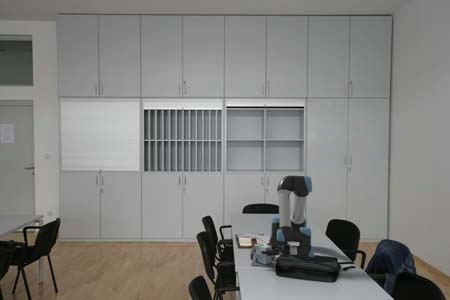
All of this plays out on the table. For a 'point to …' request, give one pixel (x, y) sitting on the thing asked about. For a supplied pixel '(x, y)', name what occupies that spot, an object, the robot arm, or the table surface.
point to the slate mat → (255, 263)
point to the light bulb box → (262, 257)
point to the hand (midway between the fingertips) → (256, 248)
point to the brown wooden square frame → (253, 253)
